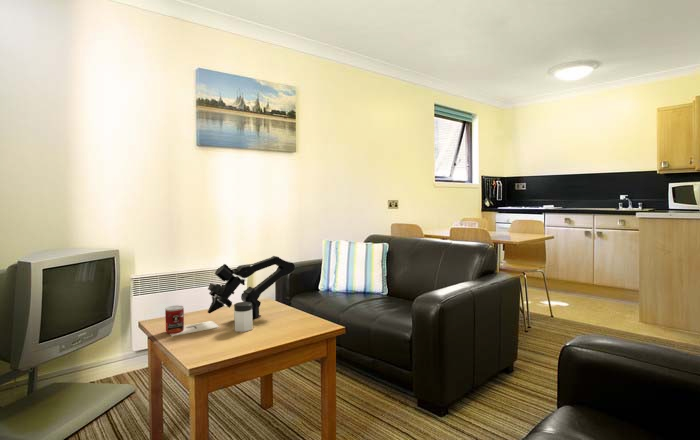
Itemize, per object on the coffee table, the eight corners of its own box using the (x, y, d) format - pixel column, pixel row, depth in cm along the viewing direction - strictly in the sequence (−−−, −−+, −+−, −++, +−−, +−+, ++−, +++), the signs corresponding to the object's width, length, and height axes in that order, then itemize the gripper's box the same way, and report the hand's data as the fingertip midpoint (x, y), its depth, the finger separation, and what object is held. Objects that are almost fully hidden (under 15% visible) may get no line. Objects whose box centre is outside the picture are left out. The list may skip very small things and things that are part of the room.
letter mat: (211, 321, 193) (211, 320, 193) (219, 327, 183) (219, 326, 183) (166, 329, 180) (166, 328, 180) (171, 336, 170) (171, 335, 170)
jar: (253, 331, 177) (253, 305, 177) (235, 333, 175) (234, 307, 174) (251, 325, 186) (251, 300, 185) (234, 327, 183) (233, 302, 183)
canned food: (166, 335, 171) (166, 310, 171) (164, 330, 178) (164, 306, 178) (185, 332, 175) (184, 308, 175) (182, 327, 182) (182, 304, 182)
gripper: (212, 274, 195) (190, 299, 189) (224, 280, 180) (201, 307, 174) (228, 287, 200) (207, 312, 194) (241, 293, 185) (219, 321, 179)
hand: (208, 312), depth 186 cm, fingers closed
